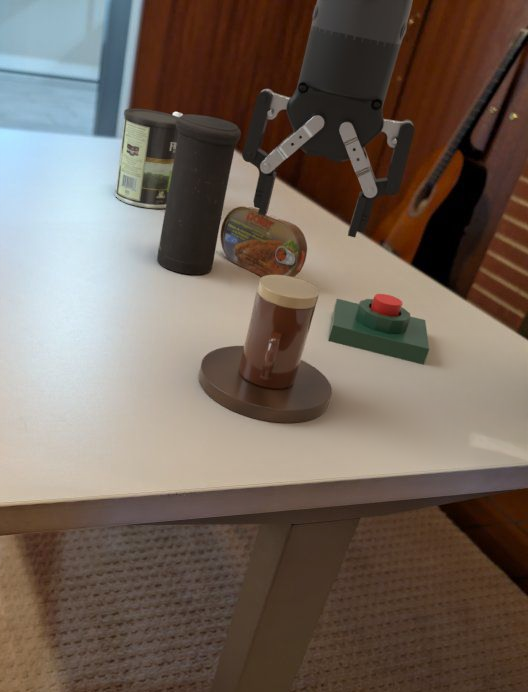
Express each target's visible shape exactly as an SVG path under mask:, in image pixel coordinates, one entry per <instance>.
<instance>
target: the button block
mask: <svg viewBox="0 0 528 692" xmlns="http://www.w3.org/2000/svg"><path fill="white" fill-rule="evenodd" d="M373 299H374V298H365V299H363V300H360V301H359V303H358V302H353V301H350V300H349V301H348V300H346V299H341V298H336V299H335V304H334V306H333V311H332V314H331V322H330V327H329V333H328V340H327V341H328V342H331V343H336V344H339V345H342V346H343V345H344V346H347V347H350V348H354V349H359V350H363V351H367V352H372V353H375V354H380V355H382V356H387V357H392V358H395V359H398V360H399V359H400V360H404V361H407V362H412V363H415V364H420V365H425V362H426V360H427V356H428V354H429V351H430V345H429V337H428V331H427V323H426V320H425V319H422V318H418V317H414V316H411V313H410V312H409V311H408V310H407V309H406V308H404V307H403V306H402V307H401V310H400V312H399V315H398V317H392V316H387V315H382V314H379V313H377V312H375V311H373V310H372V309H370V308H371V305H372V302H373Z"/></svg>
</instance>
